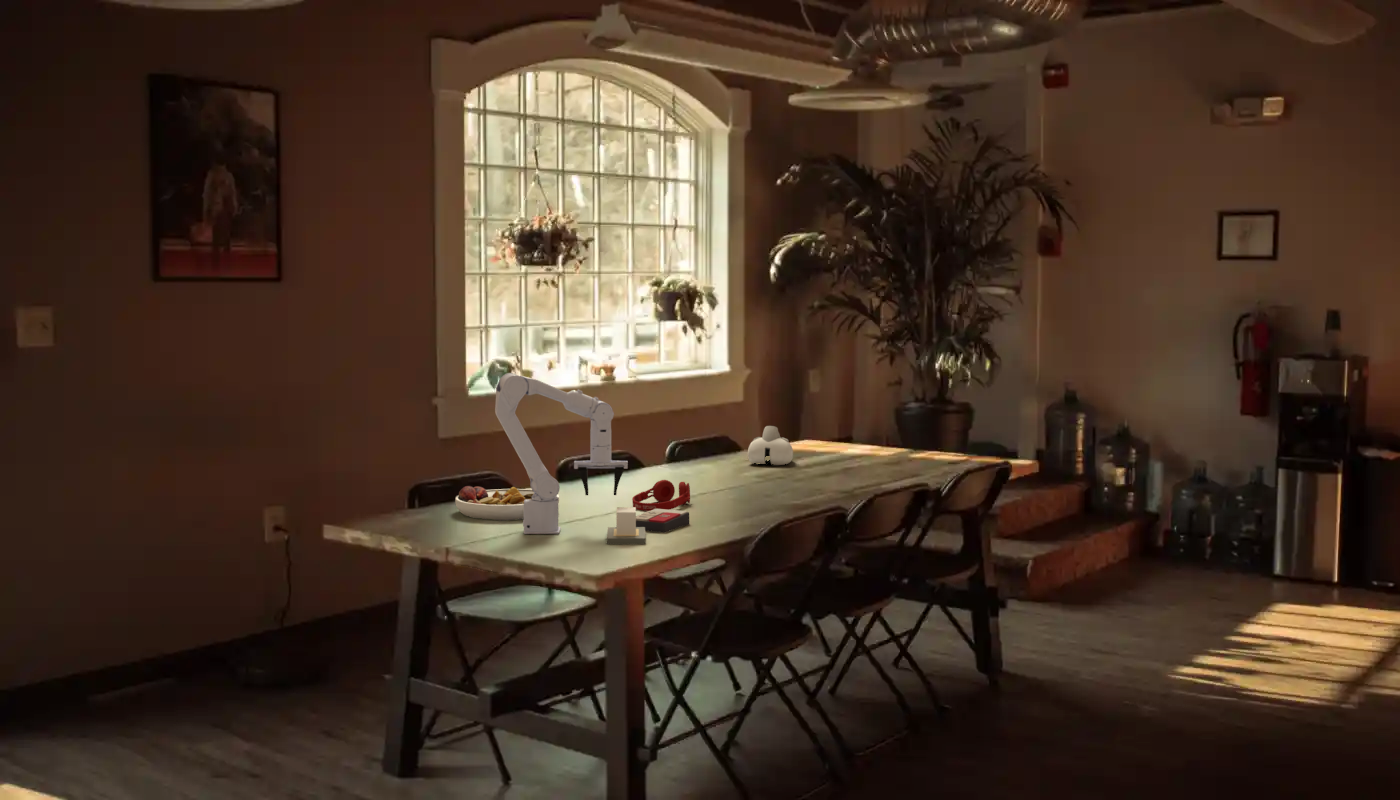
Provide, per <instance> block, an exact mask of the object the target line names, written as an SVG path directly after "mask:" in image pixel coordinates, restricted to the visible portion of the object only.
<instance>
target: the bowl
mask: <svg viewBox="0 0 1400 800" xmlns="http://www.w3.org/2000/svg"><path fill="white" fill-rule="evenodd" d="M533 494H534V492H533V490H532V489H531V488H530V489H527V488H525V489H524V488H516V487H515V486H512V487H510V488H501V489H499V488H498V489H486V488H484V487H482V486H474V487H473V486H471V485H466V486H463V487H462V488H461V489H460V490H459V492H458V495H456V496H455V500H454V501H455V505H456V509H457V510H458V511H459V512H460V513H461V514H463V515H464V516H466V517H468V516H469V518H472V517H474V518H473V519H477V518H482V519H481V520H487V519H494V520H493V521H513V520H515V519H519V520H524V500H526V499H532V495H533ZM557 496H558V504H559V502H560V496H559V494H558V495H557ZM515 521H516V520H515Z"/></svg>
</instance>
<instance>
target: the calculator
mask: <svg viewBox="0 0 1400 800" xmlns="http://www.w3.org/2000/svg"><path fill="white" fill-rule="evenodd" d="M688 525H690V512H688V511H687V510H677V509H670V510H667V509H654V510H651V511H645V512H643V513H641V514H638V515H636V527H645V532H653V533H654V532H655V533H662V534H663V533H668V532H671V531H673V530H676V529H679V528H681V527H685V526H688Z"/></svg>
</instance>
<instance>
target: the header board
mask: <svg viewBox="0 0 1400 800" xmlns="http://www.w3.org/2000/svg"><path fill="white" fill-rule="evenodd" d="M606 545H646V531H645V527H636V535H617V526H616V527H615V526H612V527H611V526H608V527H607V532H606Z"/></svg>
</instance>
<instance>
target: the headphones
mask: <svg viewBox="0 0 1400 800" xmlns="http://www.w3.org/2000/svg"><path fill="white" fill-rule="evenodd" d="M675 489H676V488H675V486H674V484H673V483H672V482H671V481H670V480H668V479H661V480H657V481H656V483H655V484H654V485H653V486H652V487H651V488H649V489H647V490H645V491H641V492H639V493H637V494H635V495H634V496H633V497H632V499H631V500H632V507H636V511H637V510H638V511H645V512H647V511H651V510H654V509H667V510H674V509H676V508H677V507H680V506H686V505H687V504H690V503H691V487H690V483H689V482H687V483H686V481H680V482H679V483H678V497H676V498H673V497H674V496H675V492H676V491H675ZM649 494H650V495H649ZM652 497H653V498H654V499H655V501H657V502H653V503H652V502H643V501H646V500H647V499H650V498H652Z"/></svg>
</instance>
